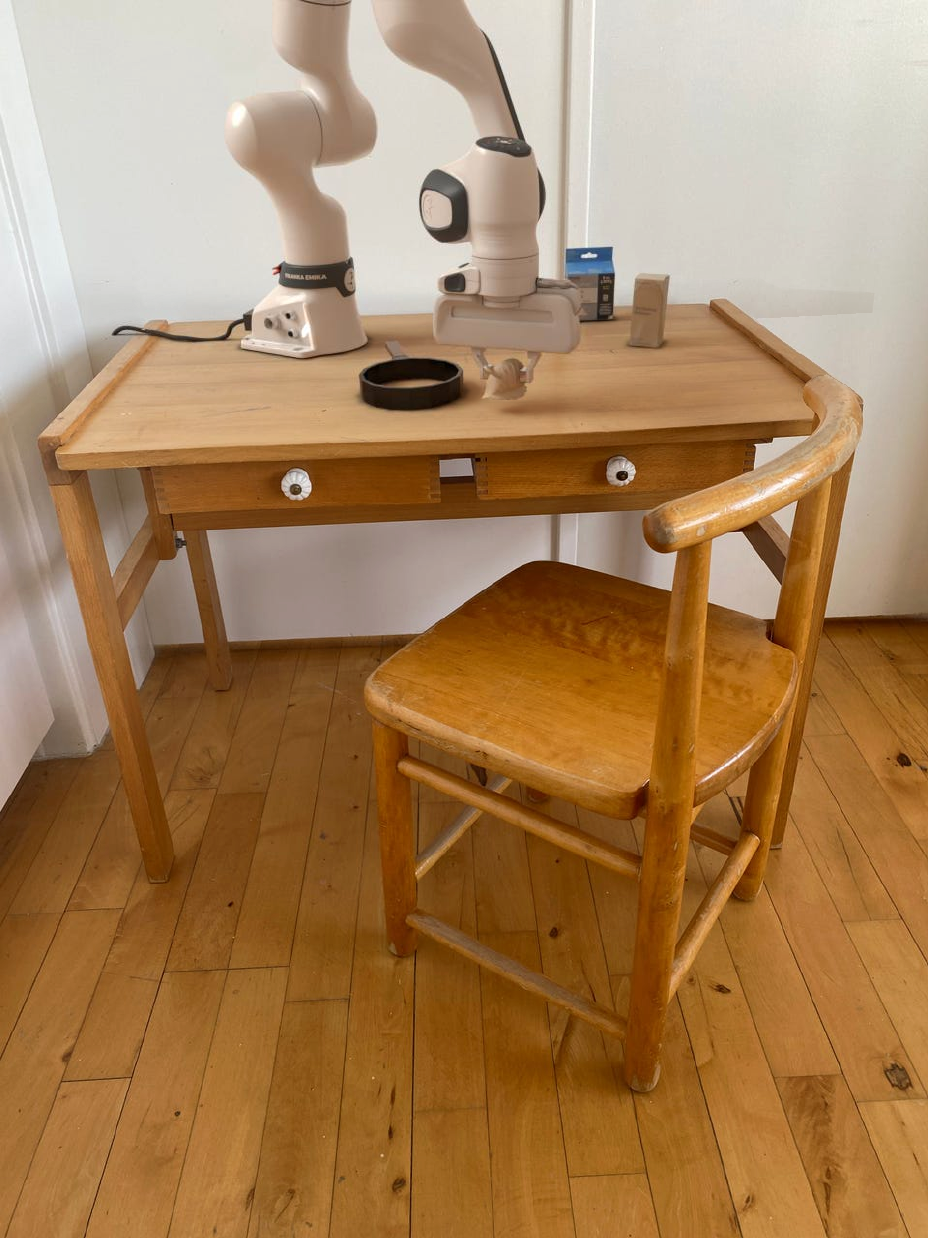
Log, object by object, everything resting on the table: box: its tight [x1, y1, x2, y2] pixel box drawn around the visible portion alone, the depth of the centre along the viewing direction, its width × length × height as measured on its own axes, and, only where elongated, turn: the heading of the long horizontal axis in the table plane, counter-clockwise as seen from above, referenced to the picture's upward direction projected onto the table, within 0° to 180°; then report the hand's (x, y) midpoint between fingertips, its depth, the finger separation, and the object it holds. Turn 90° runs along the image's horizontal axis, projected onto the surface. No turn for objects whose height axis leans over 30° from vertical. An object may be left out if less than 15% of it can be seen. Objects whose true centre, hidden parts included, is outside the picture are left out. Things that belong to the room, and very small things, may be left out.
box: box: [628, 272, 671, 349], centre depth 154 cm, size 5×4×11 cm
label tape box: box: [564, 246, 616, 322], centre depth 169 cm, size 9×4×12 cm, turn 90°
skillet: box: [358, 340, 465, 411], centre depth 142 cm, size 26×15×3 cm, turn 14°
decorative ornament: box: [481, 357, 528, 401], centre depth 128 cm, size 4×8×5 cm, turn 132°
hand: (506, 380), depth 128 cm, fingers closed on decorative ornament, 4 cm apart
